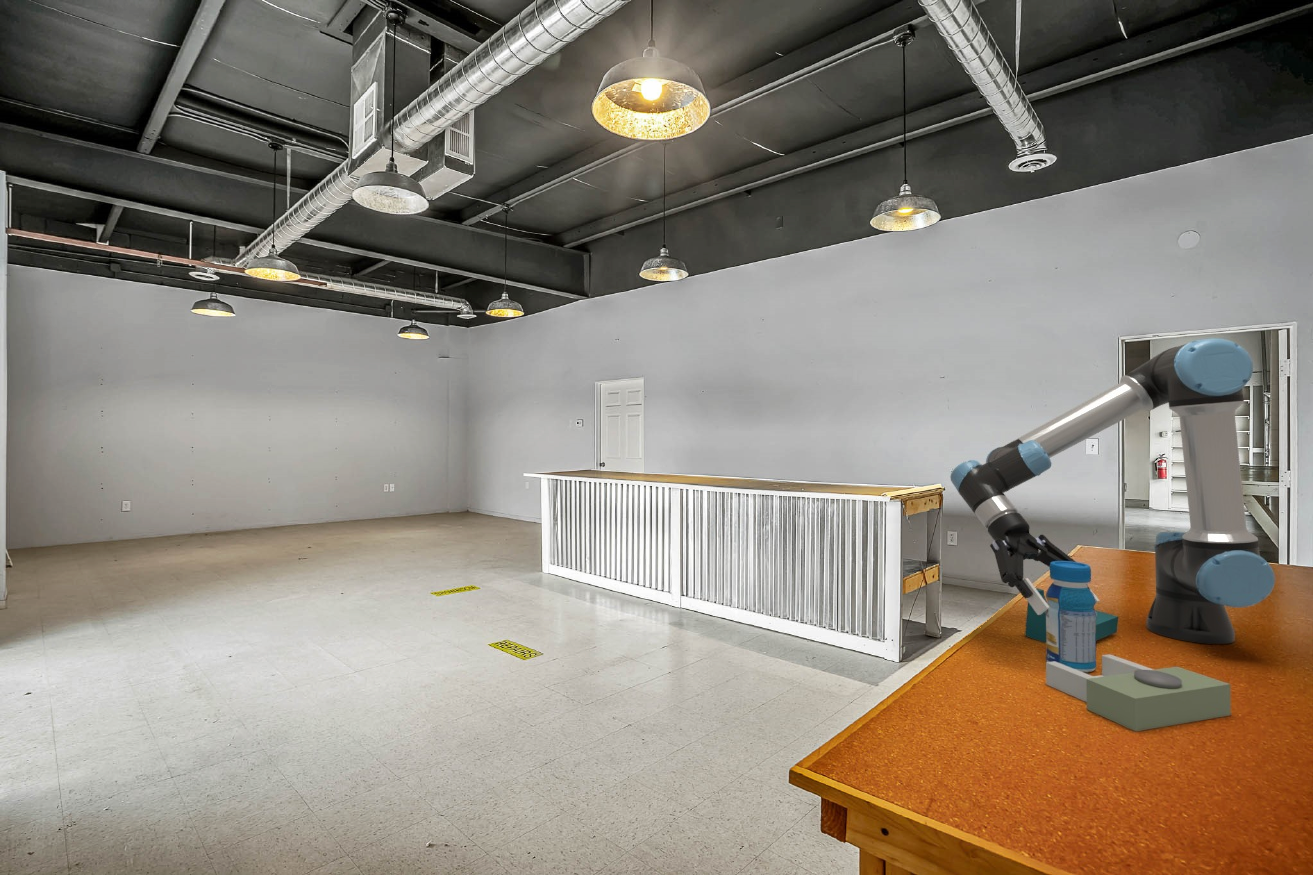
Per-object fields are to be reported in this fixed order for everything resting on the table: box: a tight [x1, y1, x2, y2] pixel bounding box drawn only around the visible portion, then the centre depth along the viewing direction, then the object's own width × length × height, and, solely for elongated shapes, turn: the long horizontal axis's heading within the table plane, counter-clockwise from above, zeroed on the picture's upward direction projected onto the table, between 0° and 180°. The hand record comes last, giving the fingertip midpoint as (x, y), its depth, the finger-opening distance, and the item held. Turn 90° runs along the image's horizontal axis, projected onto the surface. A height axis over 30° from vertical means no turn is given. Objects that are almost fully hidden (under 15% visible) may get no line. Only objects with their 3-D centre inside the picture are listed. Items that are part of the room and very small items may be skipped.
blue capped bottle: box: [1045, 561, 1097, 673], centre depth 121 cm, size 8×8×20 cm
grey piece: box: [1045, 653, 1232, 732], centre depth 105 cm, size 20×18×6 cm
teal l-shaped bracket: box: [1024, 587, 1119, 644], centre depth 138 cm, size 18×11×10 cm, turn 123°
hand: (1069, 608), depth 121 cm, fingers open, 13 cm apart
